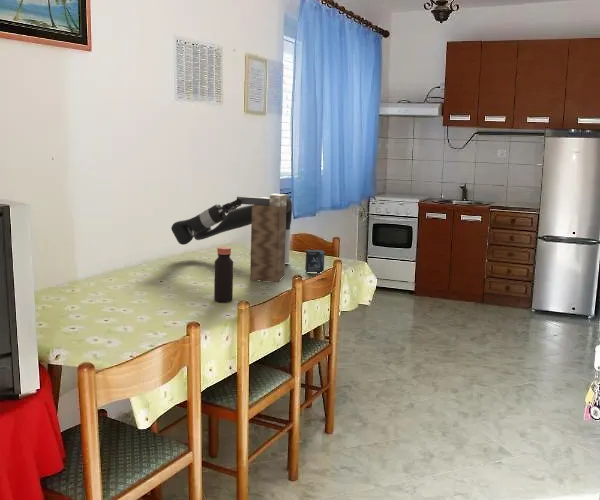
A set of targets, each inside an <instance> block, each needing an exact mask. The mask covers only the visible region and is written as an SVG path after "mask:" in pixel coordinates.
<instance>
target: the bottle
mask: <svg viewBox="0 0 600 500" xmlns="http://www.w3.org/2000/svg"><path fill="white" fill-rule="evenodd" d="M216 249H217V252H216V253H217V258H216V259H215V260H214V277H213V278H214V281H213V282H214V289H213V290H214V291H213V293H214V295H213V300H214V301H215V302H217V303H230V302H232V301H233V296H234V295H233V292H234V291H233V290H234V289H233V288H234V286H233V285H234V282H233V281H234V261H233V260H232V258H231V255H232V252H231V251H232V248H231V247H229V246H218V247H217V248H216Z"/></svg>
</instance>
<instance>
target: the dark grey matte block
mask: <svg viewBox="0 0 600 500" xmlns="http://www.w3.org/2000/svg"><path fill="white" fill-rule="evenodd" d="M239 198H240V199H241V201H242V203H241V205H247V206H250V205H265V206H270V197H264V196H247V195H246V196H245V195H237V196H236V200H237V199H239Z"/></svg>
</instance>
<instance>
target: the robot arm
mask: <svg viewBox="0 0 600 500" xmlns="http://www.w3.org/2000/svg"><path fill="white" fill-rule="evenodd" d="M241 203H242V201H241V199H240V198H239V199H237V198H236V199H235V200H233V201H230V202H227V203H225V204H222V205H220V204H218V203H217V204H214V205H212V206H211V207H209V208H207V209H205V210H204V211H202V212H201V213H199V214H197V215H195V216H193V217H191V218H187V219H183V220H179V221H176V222H174V223H173V224H172V225H171V232H172V234H173V235H174V237H175V239H176V241H177V242H178V244H179V245H187V244H189V243H190V242H191V241H192V240H193V239H194V240H195V241H201V240H205V239H208V238H210V237H214V236H217V235H219V234H222V233H225V232H229V231H231V230H235V229H240V228H243V227H246V226H250V225H251V223H252V206H253V205H245V206H242V204H241ZM292 217H293V202H292V200H291V198H290V197H289V196H288V195H287V200H286V236H285V263H290V243H291V241H290V240H291V238H290V237H291V225H292ZM215 225H216V226H215ZM214 226H215V227H214ZM212 227H214V228H212Z"/></svg>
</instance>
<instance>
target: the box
mask: <svg viewBox="0 0 600 500" xmlns="http://www.w3.org/2000/svg"><path fill="white" fill-rule="evenodd" d="M305 270H306V272H317V273H320V272H322V271H324V270H325V251H324V250H323V249H305V268H304V271H305ZM306 272H305V273H306ZM324 272H325V271H324Z"/></svg>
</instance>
